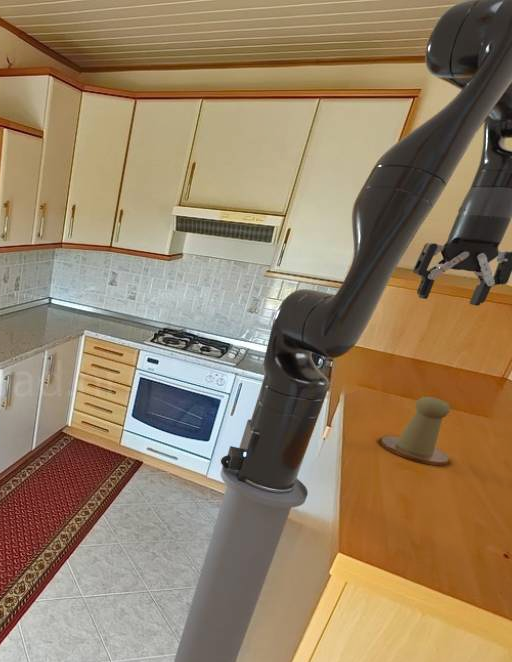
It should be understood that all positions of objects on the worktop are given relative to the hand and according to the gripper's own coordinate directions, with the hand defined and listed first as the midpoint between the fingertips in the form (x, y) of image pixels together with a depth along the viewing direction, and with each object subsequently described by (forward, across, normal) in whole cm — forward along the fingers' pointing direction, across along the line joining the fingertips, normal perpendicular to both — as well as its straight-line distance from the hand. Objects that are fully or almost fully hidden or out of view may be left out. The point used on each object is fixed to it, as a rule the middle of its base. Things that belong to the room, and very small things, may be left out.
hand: (448, 301), depth 96 cm
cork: (+30, +2, -6) cm, 30 cm away
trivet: (+30, +2, -6) cm, 31 cm away
